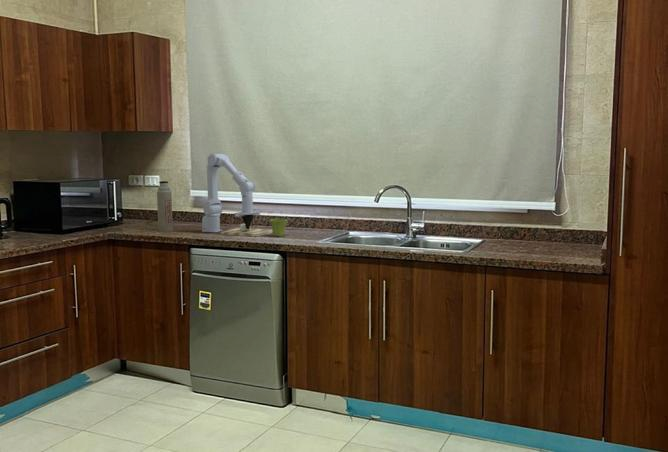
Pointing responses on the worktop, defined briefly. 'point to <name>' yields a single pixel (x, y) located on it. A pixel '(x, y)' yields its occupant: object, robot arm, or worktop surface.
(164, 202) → the thermos bottle
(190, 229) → the worktop surface
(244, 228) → the cream cap
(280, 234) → the plant pot
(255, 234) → the birch board
